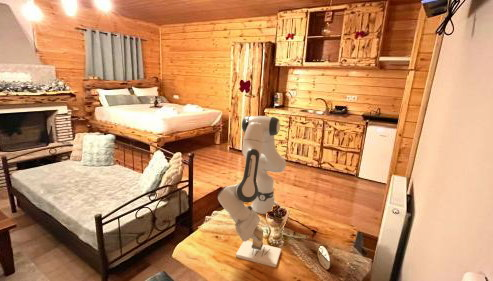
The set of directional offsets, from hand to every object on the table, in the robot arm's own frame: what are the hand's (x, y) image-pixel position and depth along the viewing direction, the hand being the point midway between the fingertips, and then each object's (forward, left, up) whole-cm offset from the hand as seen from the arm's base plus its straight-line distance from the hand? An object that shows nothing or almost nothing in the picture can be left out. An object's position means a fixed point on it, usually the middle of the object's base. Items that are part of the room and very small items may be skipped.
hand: (259, 237), depth 126 cm
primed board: (0, 0, -9) cm, 9 cm away
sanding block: (0, -1, -5) cm, 5 cm away
